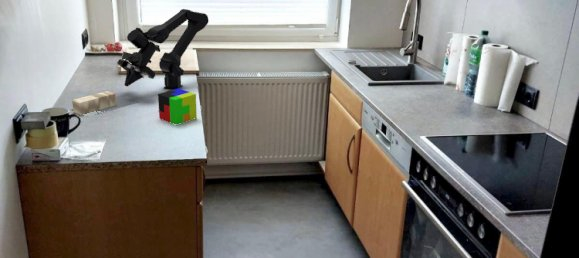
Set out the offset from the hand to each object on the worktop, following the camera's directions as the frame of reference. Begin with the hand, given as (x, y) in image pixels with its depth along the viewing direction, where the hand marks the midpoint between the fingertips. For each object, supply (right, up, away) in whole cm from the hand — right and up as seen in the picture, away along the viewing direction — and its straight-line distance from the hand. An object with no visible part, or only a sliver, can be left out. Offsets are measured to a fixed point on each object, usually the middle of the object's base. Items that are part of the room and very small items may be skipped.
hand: (125, 85), depth 220 cm
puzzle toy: (+25, -14, -14) cm, 32 cm away
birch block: (-4, -5, -4) cm, 8 cm away
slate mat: (-6, -9, -5) cm, 12 cm away
